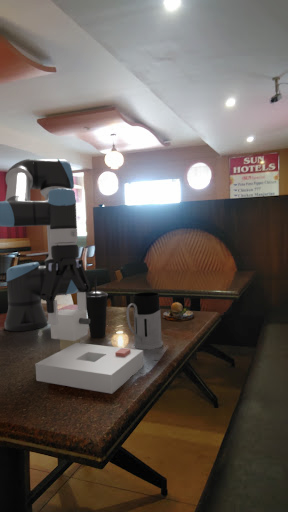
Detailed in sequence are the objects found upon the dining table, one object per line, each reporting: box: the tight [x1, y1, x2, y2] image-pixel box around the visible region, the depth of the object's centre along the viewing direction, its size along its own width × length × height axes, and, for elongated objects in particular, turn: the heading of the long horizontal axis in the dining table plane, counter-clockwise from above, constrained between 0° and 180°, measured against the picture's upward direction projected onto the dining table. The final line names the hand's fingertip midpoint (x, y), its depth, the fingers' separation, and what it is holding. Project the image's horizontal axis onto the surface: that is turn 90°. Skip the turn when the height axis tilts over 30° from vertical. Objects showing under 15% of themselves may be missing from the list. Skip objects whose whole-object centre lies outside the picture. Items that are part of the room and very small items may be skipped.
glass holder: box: [125, 291, 164, 350], centre depth 102 cm, size 9×14×15 cm, turn 147°
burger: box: [162, 300, 194, 322], centre depth 136 cm, size 12×12×8 cm
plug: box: [49, 308, 90, 351], centre depth 101 cm, size 11×6×11 cm, turn 66°
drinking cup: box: [86, 274, 109, 339], centre depth 115 cm, size 8×8×20 cm
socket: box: [34, 342, 145, 395], centre depth 84 cm, size 20×16×5 cm
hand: (68, 318), depth 101 cm, fingers open, 13 cm apart
